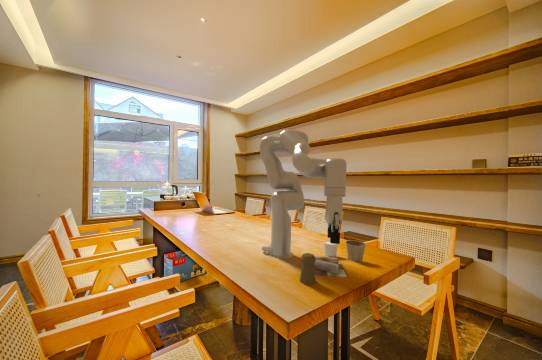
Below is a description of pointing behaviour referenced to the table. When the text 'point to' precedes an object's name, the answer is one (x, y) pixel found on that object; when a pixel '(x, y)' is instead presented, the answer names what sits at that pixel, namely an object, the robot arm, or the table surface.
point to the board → (323, 273)
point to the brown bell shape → (308, 269)
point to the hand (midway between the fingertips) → (333, 240)
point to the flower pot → (355, 250)
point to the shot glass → (330, 249)
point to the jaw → (326, 266)
